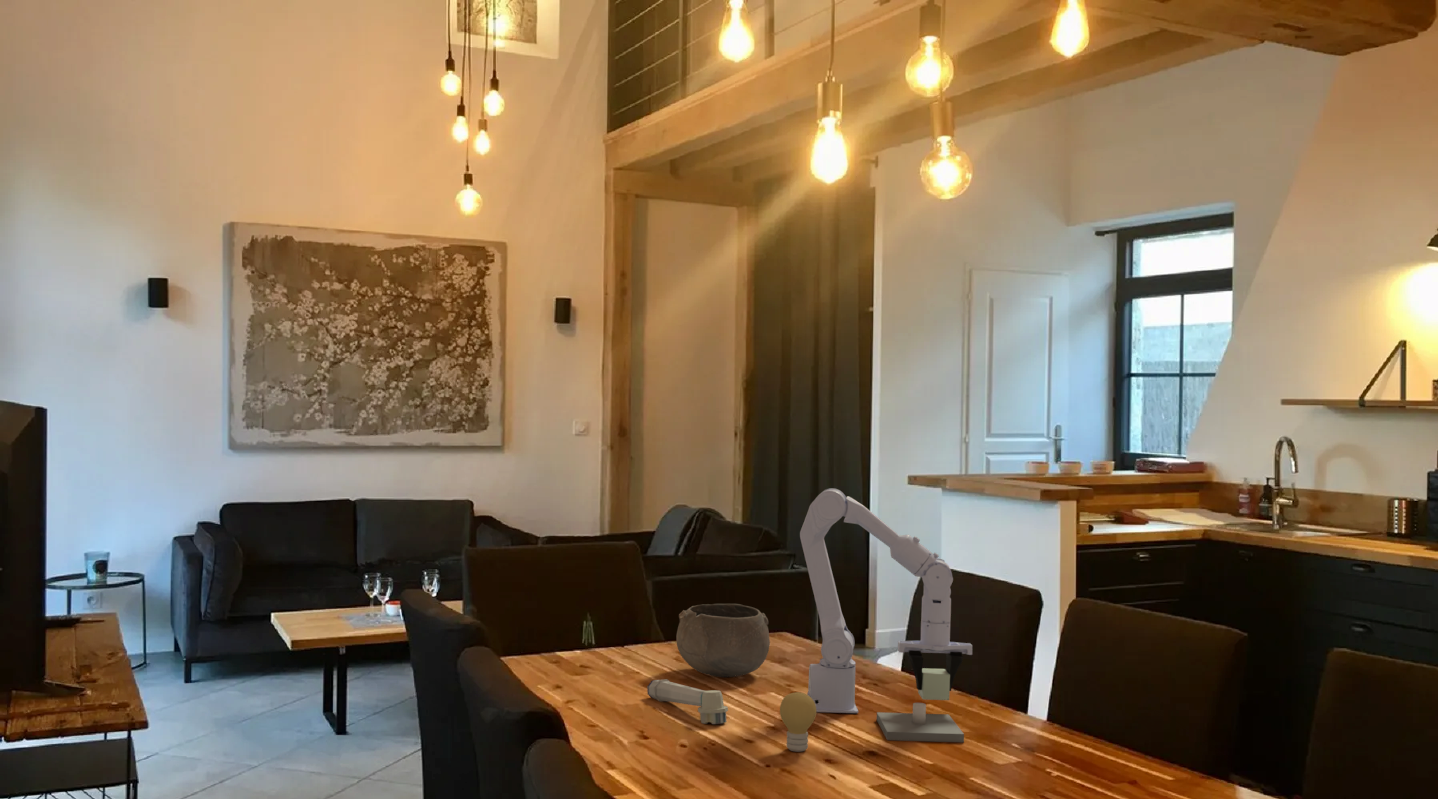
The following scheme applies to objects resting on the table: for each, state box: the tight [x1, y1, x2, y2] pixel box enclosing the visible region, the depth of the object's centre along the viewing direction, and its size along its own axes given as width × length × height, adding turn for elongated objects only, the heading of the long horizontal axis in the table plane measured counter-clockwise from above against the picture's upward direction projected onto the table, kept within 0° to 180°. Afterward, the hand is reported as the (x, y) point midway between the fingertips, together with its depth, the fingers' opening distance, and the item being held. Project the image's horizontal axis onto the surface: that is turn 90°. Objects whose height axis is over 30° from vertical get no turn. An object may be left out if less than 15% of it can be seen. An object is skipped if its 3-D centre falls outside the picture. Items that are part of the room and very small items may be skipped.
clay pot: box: [676, 603, 771, 678], centre depth 259 cm, size 21×21×15 cm
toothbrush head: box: [646, 678, 729, 725], centre depth 226 cm, size 5×7×25 cm
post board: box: [876, 702, 965, 743], centre depth 216 cm, size 14×14×5 cm
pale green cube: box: [917, 667, 951, 701], centre depth 228 cm, size 5×5×5 cm
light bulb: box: [779, 691, 817, 753], centre depth 201 cm, size 6×6×10 cm
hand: (933, 689), depth 228 cm, fingers closed on pale green cube, 5 cm apart
